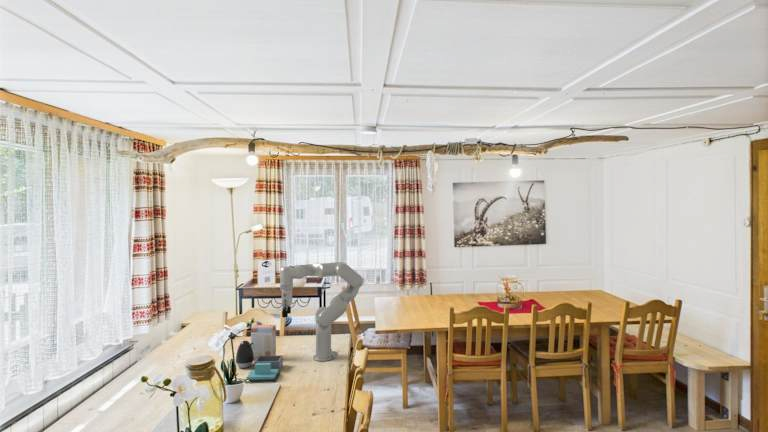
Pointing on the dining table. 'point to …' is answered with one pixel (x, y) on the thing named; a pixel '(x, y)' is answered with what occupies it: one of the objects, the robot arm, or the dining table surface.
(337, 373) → the dining table surface
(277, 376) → the mat
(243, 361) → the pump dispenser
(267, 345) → the cracker box
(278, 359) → the tub
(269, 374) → the lid
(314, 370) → the dining table surface
